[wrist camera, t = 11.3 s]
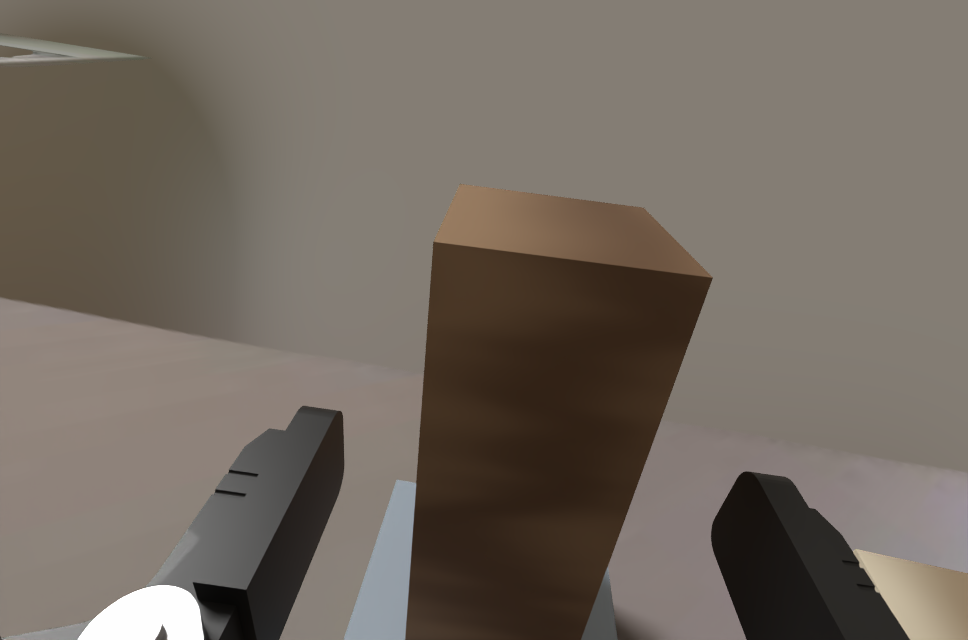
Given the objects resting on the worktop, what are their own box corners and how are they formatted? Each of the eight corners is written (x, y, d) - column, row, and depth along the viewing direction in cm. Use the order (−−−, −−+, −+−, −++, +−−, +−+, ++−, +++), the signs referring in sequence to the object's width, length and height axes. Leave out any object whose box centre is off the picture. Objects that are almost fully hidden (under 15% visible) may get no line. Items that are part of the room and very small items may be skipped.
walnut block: (403, 660, 13) (433, 242, 8) (428, 523, 17) (460, 184, 12) (566, 679, 13) (712, 277, 8) (553, 538, 17) (643, 207, 12)
